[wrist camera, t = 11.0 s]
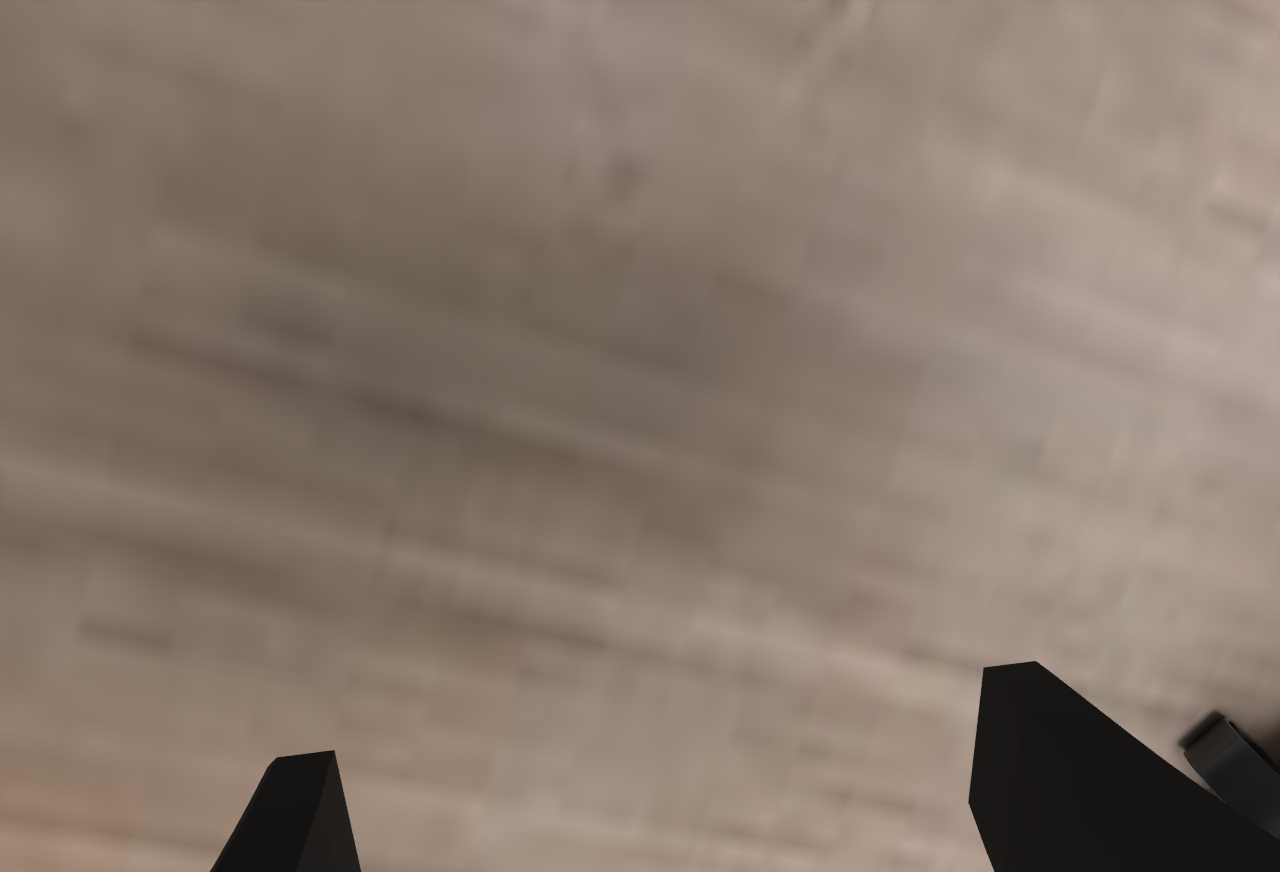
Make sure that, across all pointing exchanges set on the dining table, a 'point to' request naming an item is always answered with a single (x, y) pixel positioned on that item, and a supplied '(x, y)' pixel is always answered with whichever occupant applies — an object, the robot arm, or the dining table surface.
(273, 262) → the dining table surface
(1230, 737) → the coffee press
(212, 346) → the dining table surface
